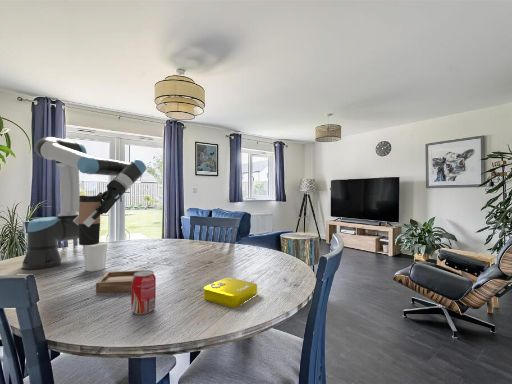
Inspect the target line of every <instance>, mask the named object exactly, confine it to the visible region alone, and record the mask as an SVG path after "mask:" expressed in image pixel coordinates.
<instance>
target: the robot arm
mask: <svg viewBox="0 0 512 384" xmlns="http://www.w3.org/2000/svg"><path fill="white" fill-rule="evenodd" d="M34 152H35V153H36V154H37V155H38V156H39V157H40V158H42V159H45V160H49V161H55V165H56V166H57V167H59V186H60V187H59V189H60V190H59V191H60V193H59V194H60V195H59V196H60V212H59V214H58V215H57V216H47V217H46V216H45V217H40V218H34V219H32V220H29V221H28V224H27V230H26V231H27V251H26V254H25V256H24V259H23V261H22V263H21V264H22V266H21V268H22V269H25V270H39V269H47V268H52V267H57V266H59V265H61V264H62V257H61V254H60V252H59V251H60V250H59V249H58V242H65V241H72V240H79V197H80V196H81V194H80V173H82V174H87V175H98V176H99V175H101V176H113V177H114V178H113V179H112V180H111V181H109V183H108V184H107V185H106V188H107V190H105V191H103V192H101V191H99V193H98V194H97V195H96V196H100V207H99V208H97V209H96V210H97V211H96V210H95V211H94V212H93V213H92V214H91V215H90V216H89V217H88V218H87V219H86V220H85V221H84V222H83V223H84V224H85V225H86V226H87V227H89V226H90V225H91V224H92V223H93V222H94V221H95V220H96V219H97V218H98V217H99V216H100V217H101V216H102V215H103V214H105V215H106V214H107V213H108V212H109V211H110V210H111V208H112V207H113V206H114V204H116V202H117V201H119V200H120V199H121V197H122V196H123V195H124V194H125V193H126V192H127V191H128V189H130V188H131V186H133V184H134V183H136V182H137V180H138V179H140V178H141V176H143V174H144V173H145V172H146V170H147V166H146V164H145V163H144V162H143V161H142V160H141V159H138V158H135V159H133V160H130V161H131V162H128V161H127V162H126V161H121V160H118V159H107V158H100V157H96V156H95V157H94V156H93V155H90V154H87V149H86V147H85V146H84V145H83V143H81V142H79V141H76V140H71V139H70V140H69V139H65V138H57V137H55V136H54V137H53V136H45V137H42V138H39V140H37V141H36V143H35V145H34Z"/></svg>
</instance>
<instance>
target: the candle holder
mask: <svg viewBox="0 0 512 384" xmlns="http://www.w3.org/2000/svg"><path fill="white" fill-rule="evenodd" d="M83 250H84V251H83V255H84V270H85V271H87V272H98V271H102V270H104V269H105V268H106V266H107V265H106V264H107V253H108V242H107V241H106V242H105V241H99V243H98V244H95V245H83Z"/></svg>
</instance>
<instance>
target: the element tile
mask: <svg viewBox="0 0 512 384" xmlns="http://www.w3.org/2000/svg"><path fill="white" fill-rule="evenodd" d="M256 294H257V295H258V284H257V283H256V282H250V281H246V280H242V279H237V278H233V277H225V278H222V279H220V280H217V281H215V282H212V283H210V284H208V285H205V286H204V287H203V300H205V301H208V302H210V303H214V302H215V303H214V304H218V305H221V304H222V305H221V306H224V305H225V307H228V306H229V307H228V308H232V307H236V308H238V307H237V306H239V307H241V306H242V305H244V304H245V303H244V302H245V301H247V300H249V299H250V298H252V297H253V296H255V295H256ZM252 299H253V298H252ZM249 301H250V300H249ZM247 302H248V301H247ZM243 303H244V304H243ZM241 304H242V305H241ZM240 305H241V306H240Z"/></svg>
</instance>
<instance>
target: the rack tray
mask: <svg viewBox="0 0 512 384" xmlns="http://www.w3.org/2000/svg"><path fill="white" fill-rule="evenodd" d="M143 270H144V269H142V270H138V269H137V270H122V271H121V270H120V271H117V270H116V271H107V272H106V273H105V274H104V275H102V277H101V278H99V280H98V281H97V282H96V283H95V295H102V294H118V293H119V294H121V293H131V285H132V278H133V277H134V273H135V272H138V271H143Z"/></svg>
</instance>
